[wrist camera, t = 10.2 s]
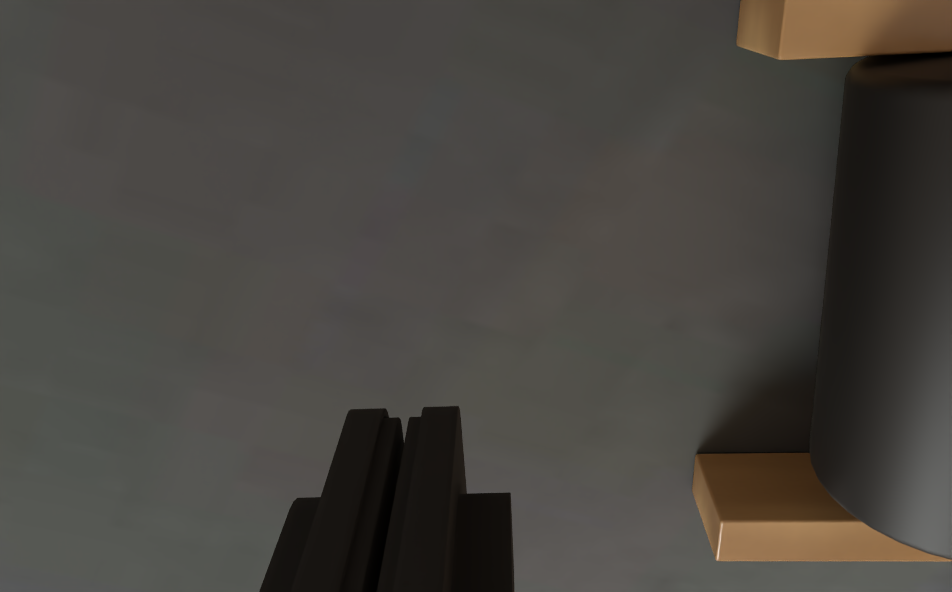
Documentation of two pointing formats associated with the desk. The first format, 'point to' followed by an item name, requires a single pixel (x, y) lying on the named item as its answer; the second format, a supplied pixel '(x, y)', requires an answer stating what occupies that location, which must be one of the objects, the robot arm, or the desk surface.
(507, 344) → the desk surface
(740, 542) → the oak bay
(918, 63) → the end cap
